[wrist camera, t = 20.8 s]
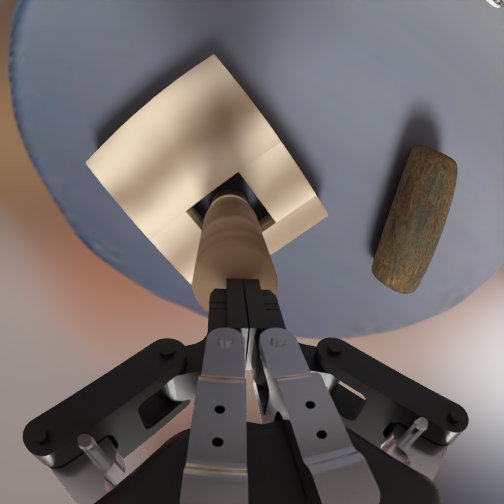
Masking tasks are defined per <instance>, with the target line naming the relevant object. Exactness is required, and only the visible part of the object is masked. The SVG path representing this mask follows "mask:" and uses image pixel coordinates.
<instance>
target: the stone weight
mask: <svg viewBox="0 0 504 504" xmlns="http://www.w3.org/2000/svg"><path fill="white" fill-rule="evenodd" d="M456 180H457V164H456V162H455V161H454V160H453V159H451V158H450V157H448V156H447V155H445V154H443V153H441V152H438V151H436V150H433V149H431V148H428V147H423V146H415V147H414V148H413V150H412V151H411V152H410V154H409V157H408V159H407V162H406V165H405V168H404V170H403V173H402V176H401V179H400V183H399V186H398V188H397V191H396V194H395V197H394V200H393V203H392V206H391V209H390V212H389V215H388V217H387V221H386V223H385V226H384V230H383V232H382V236H381V239H380V242H379V245H378V248H377V251H376V254H375V257H374V261H373V265H372V273H373V275H374V276H375V277H376V278H377V279H378V280H379V281H380V282H381V283H382V284H384V285H385V286H387V287H389V288H390V289H392V290H394V291H397V292H400V293H404V294H408V293H412V292H414V291H415V290H416V289H417V287H418V286H419V284H420V282H421V280H422V278H423V276H424V274H425V272H426V270H427V268H428V266H429V264H430V262H431V259H432V257H433V254H434V252H435V249H436V247H437V244H438V242H439V239H440V237H441V234H442V231H443V228H444V225H445V222H446V219H447V216H448V213H449V209H450V206H451V202H452V199H453V195H454V190H455V186H456Z"/></svg>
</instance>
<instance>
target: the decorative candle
mask: <svg viewBox="0 0 504 504" xmlns="http://www.w3.org/2000/svg"><path fill="white" fill-rule="evenodd" d="M487 1H488V2H489V3H490V4H491V5H492V6H494V7H496V8H499V7H502V6H503V7H504V0H487Z"/></svg>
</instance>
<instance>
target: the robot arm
mask: <svg viewBox="0 0 504 504" xmlns="http://www.w3.org/2000/svg"><path fill="white" fill-rule="evenodd" d="M245 367H246V370H252V373H253V379H254V383H253V385H254V390H255V394H256V398H257V403H258V407H259V411H260V415H261V420H262V424H256V423H251V422H246V379H245ZM340 381H342V382H343V383H345V384H347V385H348V386H350V387H351V388H353V389H354V390H356V391H358V392H360V393H361V394H362V395H363V396H364V397H365V398H366V400H364V399H362V398H361V397H359V396H357V395H356V394H354V393H353V392H351V391H349V390H348V389H346V388H345V387H343V386H342V385H340V384H339V382H340ZM193 398H195V402H194V409H193V415H192V422H191V428H190V429H187V430H184V431H182V432H180V433H178V434H176V435H174V436H173V437H171V438H170V439H169V440H167V441H166V442H165V443H164V444H163V445H162V446H161V447H160V448H159V449H158V450H157V451H155V452H154V453H153V454H152V455H151V456H150V457H149V458H148V459H147V460H146V461H144V462H143V463H142V464H141V465H140V466H139V467H138V468H136V469H135V470H134V471H133V472H132V473H131V474H129V475H128V476H127V477H126V478H125V479H124V480H122V481H121V482H120V483H119V484H118V485H116V484H117V482H118V480H119V479H120V478H121V477H122V476H123V475H124V473H125V469H126V465H125V461H124V458H125V457H126V456H127V455H129V454H130V453H131V452H133V451H134V450H135V449H136V448H137V447H139V446H140V445H141V444H142V443H144V442H145V441H146V440H148V439H149V438H150V437H151V436H152V435H154V434H155V433H156V432H157V431H158V430H160V429H161V428H162V427H163V426H164V425H165V424H166V423H168V422H169V421H170V420H171V419H172V418H174V417H175V416H176V415H177V414H178V413H180V412H181V411H182V410H183V409H184V408H185V407H186V406H188V404H189V403H190V402H191V399H193ZM467 425H468V415H467V413H466V411H465V409H464V408H463V407H461V406H460V405H458V404H456V403H454V402H453V401H451V400H449V399H447V398H445V397H443V396H441V395H439V394H438V393H435V392H434V391H432V390H430V389H428V388H426V387H424V386H423V385H420V384H419V383H417V382H415V381H414V380H412V379H410V378H408V377H406V376H404V375H403V374H401V373H399V372H397V371H395V370H394V369H392V368H390V367H388V366H386V365H385V364H383V363H381V362H379V361H378V360H376V359H374V358H372V357H371V356H369V355H367V354H365V353H364V352H362V351H360V350H358V349H357V348H355V347H353V346H351V345H350V344H348V343H346V342H345V341H343V340H340V339H337V338H325V339H322V340H321V341H320V342H319V343H318V345H317V347H315V346H310V345H305V344H301V343H298V342H297V339H296V337H295V336H294V335H293V334H292V333H291V332H290V331H288V330H286V328H285V324H284V321H283V317H282V314H281V311H280V307H279V305H278V300H277V297H276V295H275V294H274V293H273V292H272V291H271V290H261V286H260V281H259V279H243V281H242V278H226V289H219V288H215V289H214V290H213V291H212V292H211V294H210V299H209V317H208V333H207V335H206V337H205V338H204V339H203V340H202V341H200V342H198V343H196V344H192V345H188V346H184V345H183V344H182V343H181V342H180V341H178V340H175V339H169V338H165V339H160V340H157V341H155V342H153V343H152V344H150V345H149V346H147V347H146V348H144V349H143V350H141V351H140V352H138V353H137V354H135V355H134V356H132V357H131V358H129V359H128V360H126V361H125V362H123V363H121V364H120V365H118V366H117V367H115V368H114V369H113V370H111V371H109V372H108V373H106V374H104V375H103V376H101V377H100V378H98V379H97V380H95V381H94V382H92V383H91V384H89V385H87V386H86V387H84V388H83V389H81V390H80V391H78V392H76V393H75V394H73V395H72V396H70V397H68V398H67V399H65V400H64V401H62V402H61V403H59V404H57V405H56V406H55V407H53V408H51V409H49V410H48V411H46V412H44V413H43V414H41V415H40V416H38V417H36V418H35V419H33V420H32V421H30V422H29V423H28V424H27V425H26V427H25V429H24V431H23V441H24V444H25V446H26V448H27V449H28V450H29V451H30V452H31V453H32V454H33V455H34V456H36V457H37V458H38V459H39V460H40V461H41V462H42V463H43V464H45V465H46V466H47V467H48V468H49V469H51V470H52V471H53V472H54V474H55V475H56V477H57V478H58V479H59V481H60V482H61V483H62V485H63V486H64V487H65V489H66V490H67V491H68V492H69V494H70V495H71V496H72V497H73V499H74V500H75V501H76V502H77V503H78V504H441V496H440V492H439V489H438V488H437V486H436V484H435V483H434V482H433V479H434V477H435V475H436V473H437V471H438V469H439V466H440V464H441V462H442V460H443V458H444V455H445V453H446V451H447V448H448V446H449V445H450V444H451V443H452V442H453V441H454V440H455V439H456V438H457V437H458V436H459V435H460V434H461V433H462V432H463V431H464V430H465V429H466V427H467Z"/></svg>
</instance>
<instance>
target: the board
mask: <svg viewBox="0 0 504 504" xmlns="http://www.w3.org/2000/svg"><path fill="white" fill-rule="evenodd" d="M86 164H87V166H88V167H89V168H90V169H91V171H92V172H93V173H94V175H95V176H96V177H97V178H98V180H99V181H100V182H101V183H102V185H103V186H104V187H105V188H106V189H107V191H108V192H109V193H110V194H111V196H112V197H113V198H114V199H115V200H116V202H117V203H118V204H119V205H120V206H121V207H122V209H123V210H124V211H125V212H126V213H127V215H128V216H129V217H130V218H131V219H132V220H133V221H134V223H135V224H136V225H137V226H138V227H139V228H140V230H141V231H142V232H143V233H144V234H145V235H146V236H147V237H148V239H149V240H150V241H151V242H152V243H153V244H154V245H155V246H156V247H157V249H158V250H159V251H160V252H161V253H162V254H163V255H164V256H165V257H166V258H167V259H168V261H169V262H170V263H171V264H172V265H173V266H174V267H175V268H176V269H177V270H178V271H179V272H180V273H181V274H182V275H183V276H184V278H185V279H186V280H187V281H188V282H189V283H190V284H191V285H192V280H193V274H194V268H195V263H196V257H197V252H198V247H199V242H200V237H201V232H202V227H203V222H204V219H203V218H202V216H201V215H200V214H199V213H198V212H197V210H196V209H195V208H194V207H193V205H194V204H196V203H197V202H198V201H200V200H201V199H202V198H204V197H205V196H206V195H207V194H209V193H210V192H211V191H213V190H214V189H215V188H217V187H218V186H219V185H221V184H222V183H224V182H225V181H226V180H228V179H229V178H230V177H232V176H233V175H235V174H236V173H237V172H239V173H240V174H241V176H242V177H243V178H244V180H245V181H246V182H247V184H248V185H249V186H250V188H251V189H252V190H253V192H254V193H255V195H256V196H257V197H258V199H259V200H260V201H261V203H262V204H263V205H264V207H265V208H266V209H267V211H268V212H269V214H268V215H266V216H265V217H264V218H262V219H261V220H259V221H258V222H259V225H260V228H261V231H262V234H263V237H264V239H265V242H266V245H267V248H268V251H269V254H270V255H271V254H272V253H274V252H275V251H277V250H278V249H280V248H281V247H283V246H284V245H286V244H287V243H289V242H290V241H292V240H293V239H295V238H296V237H298V236H299V235H300V234H302V233H303V232H305V231H306V230H308V229H309V228H311V227H312V226H314V225H315V224H317V223H318V222H320V221H321V220H322V219H324V218H325V217H327V216H328V213H327V212H326V210H325V208H324V207H323V205H322V203H321V202H320V200H319V199H318V197H317V195H316V194H315V192H314V191H313V189H312V187H311V186H310V184H309V183H308V181H307V180H306V178H305V176H304V175H303V173H302V172H301V170H300V169H299V167H298V166H297V164H296V163H295V161H294V160H293V158H292V157H291V155H290V154H289V152H288V151H287V149H286V148H285V146H284V145H283V143H282V142H281V141H280V139H279V138H278V136H277V135H276V133H275V132H274V131H273V129H272V128H271V126H270V125H269V124H268V122H267V121H266V120H265V118H264V117H263V115H262V114H261V113H260V111H259V110H258V109H257V107H256V106H255V105H254V103H253V102H252V101H251V99H250V98H249V97H248V95H247V94H246V93H245V92H244V90H243V89H242V88H241V86H240V85H239V84H238V83H237V81H236V80H235V79H234V78H233V76H232V75H231V74H230V73H229V71H228V70H227V69H226V68H225V67H224V65H223V64H222V63H221V62H220V61H219V59H218V58H217V57H216V56H215V55H214V54H213V55H212V56H210V57H209V58H207V59H206V60H204V61H203V62H201V63H200V64H198V65H197V66H195V67H194V68H192V69H191V70H189V71H188V72H187V73H185V74H184V75H183V76H181V77H180V78H178V79H177V80H176V81H174V82H173V83H172V84H171V85H169V86H168V87H167V88H165V89H164V90H163V91H162V92H160V93H159V94H158V95H157V96H155V97H154V98H153V99H152V100H151V101H149V102H148V103H147V104H146V105H145V106H143V107H142V108H141V109H140V110H139V111H138V112H137V113H135V114H134V115H133V116H132V117H131V118H130V119H129V120H128V121H127V122H125V123H124V124H123V125H122V126H121V127H120V128H119V129H118V130H117V131H116V132H115V133H114V134H113V135H112V136H111V137H110V138H109V139H108V140H107V141H106V142H105V143H104V144H103V145H102V146H101V147H100V148H99V149H98V150H97V151H96V152H95V153H94V154H93V155H92V157H91V158H90V159H89V160H88V161H87V162H86Z"/></svg>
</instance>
